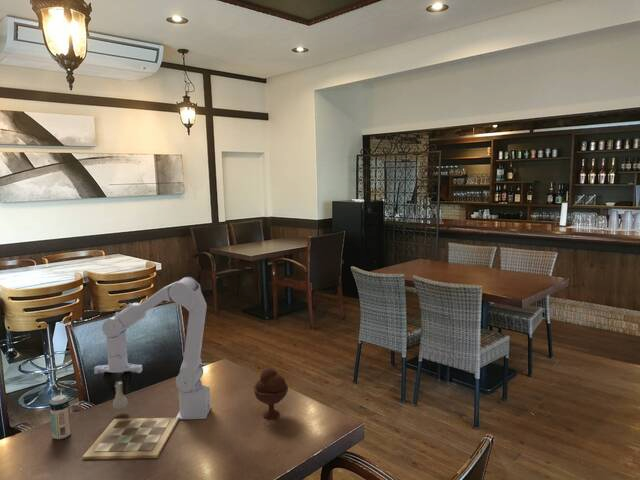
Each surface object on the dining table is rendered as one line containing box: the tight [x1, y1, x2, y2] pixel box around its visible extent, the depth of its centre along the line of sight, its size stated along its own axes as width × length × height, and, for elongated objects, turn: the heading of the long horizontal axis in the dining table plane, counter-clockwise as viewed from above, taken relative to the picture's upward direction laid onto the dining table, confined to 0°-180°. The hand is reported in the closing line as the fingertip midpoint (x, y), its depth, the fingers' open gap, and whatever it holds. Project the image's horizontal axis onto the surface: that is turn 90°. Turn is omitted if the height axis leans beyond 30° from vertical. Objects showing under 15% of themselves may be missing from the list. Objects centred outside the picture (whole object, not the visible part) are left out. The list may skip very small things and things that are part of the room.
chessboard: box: [82, 417, 180, 460], centre depth 132 cm, size 20×20×1 cm
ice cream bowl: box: [253, 367, 289, 420], centre depth 144 cm, size 11×11×15 cm
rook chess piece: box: [112, 380, 128, 410], centre depth 146 cm, size 4×4×8 cm
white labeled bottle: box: [49, 393, 72, 440], centre depth 133 cm, size 5×5×12 cm
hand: (120, 393), depth 146 cm, fingers closed on rook chess piece, 3 cm apart
